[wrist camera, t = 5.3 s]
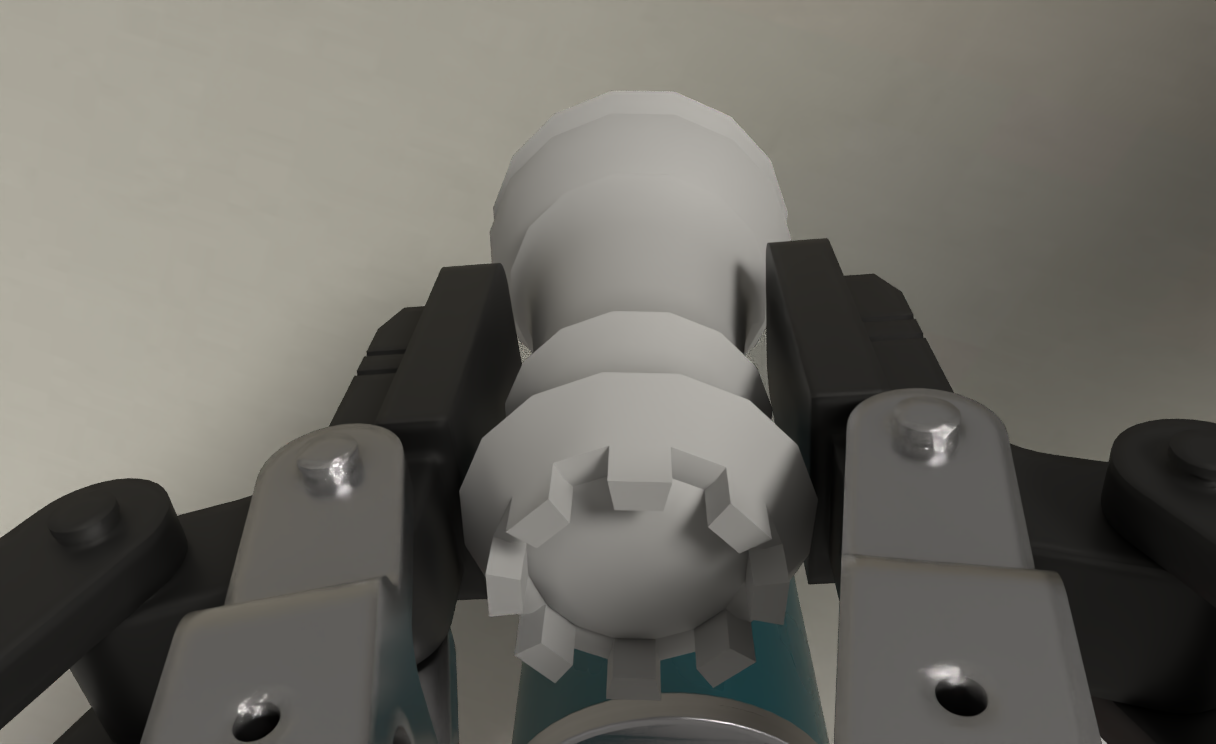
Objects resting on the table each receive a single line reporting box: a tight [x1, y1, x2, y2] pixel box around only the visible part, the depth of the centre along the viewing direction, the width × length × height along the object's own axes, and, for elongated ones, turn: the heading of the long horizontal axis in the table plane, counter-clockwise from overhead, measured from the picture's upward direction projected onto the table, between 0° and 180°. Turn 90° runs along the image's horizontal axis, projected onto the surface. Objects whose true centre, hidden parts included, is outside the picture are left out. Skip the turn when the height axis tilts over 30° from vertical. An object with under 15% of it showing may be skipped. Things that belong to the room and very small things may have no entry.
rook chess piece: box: [459, 91, 818, 701], centre depth 11 cm, size 4×4×8 cm
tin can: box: [512, 576, 829, 744], centre depth 22 cm, size 7×7×10 cm
